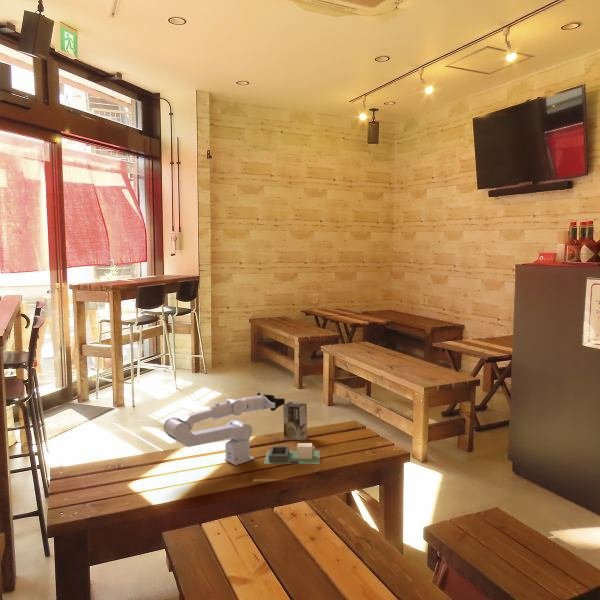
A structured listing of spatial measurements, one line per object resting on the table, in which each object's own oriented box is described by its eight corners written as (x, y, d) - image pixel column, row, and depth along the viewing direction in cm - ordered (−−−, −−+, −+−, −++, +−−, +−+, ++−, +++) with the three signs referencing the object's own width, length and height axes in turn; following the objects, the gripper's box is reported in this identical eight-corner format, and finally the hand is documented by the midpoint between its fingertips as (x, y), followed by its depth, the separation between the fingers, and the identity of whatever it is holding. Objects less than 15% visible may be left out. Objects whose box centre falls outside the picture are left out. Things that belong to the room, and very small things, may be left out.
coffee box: (307, 438, 226) (307, 403, 225) (300, 442, 221) (299, 407, 220) (291, 434, 231) (290, 401, 230) (283, 439, 226) (282, 404, 225)
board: (263, 466, 196) (263, 457, 195) (267, 452, 210) (267, 444, 209) (319, 466, 195) (319, 457, 195) (319, 452, 209) (319, 444, 209)
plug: (297, 458, 200) (297, 446, 200) (297, 455, 204) (297, 443, 204) (314, 458, 200) (314, 446, 199) (314, 455, 204) (314, 443, 203)
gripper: (262, 397, 200) (289, 393, 208) (243, 390, 211) (269, 387, 220) (262, 414, 200) (289, 410, 209) (243, 407, 211) (269, 403, 220)
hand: (279, 399), depth 214 cm, fingers open, 7 cm apart
